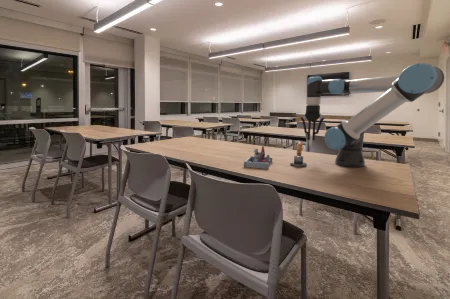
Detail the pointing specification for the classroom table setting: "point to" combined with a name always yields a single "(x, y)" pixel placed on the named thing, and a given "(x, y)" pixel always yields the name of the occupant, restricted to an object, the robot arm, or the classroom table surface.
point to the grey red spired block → (261, 156)
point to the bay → (256, 163)
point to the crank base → (298, 164)
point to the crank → (298, 155)
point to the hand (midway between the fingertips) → (310, 145)
